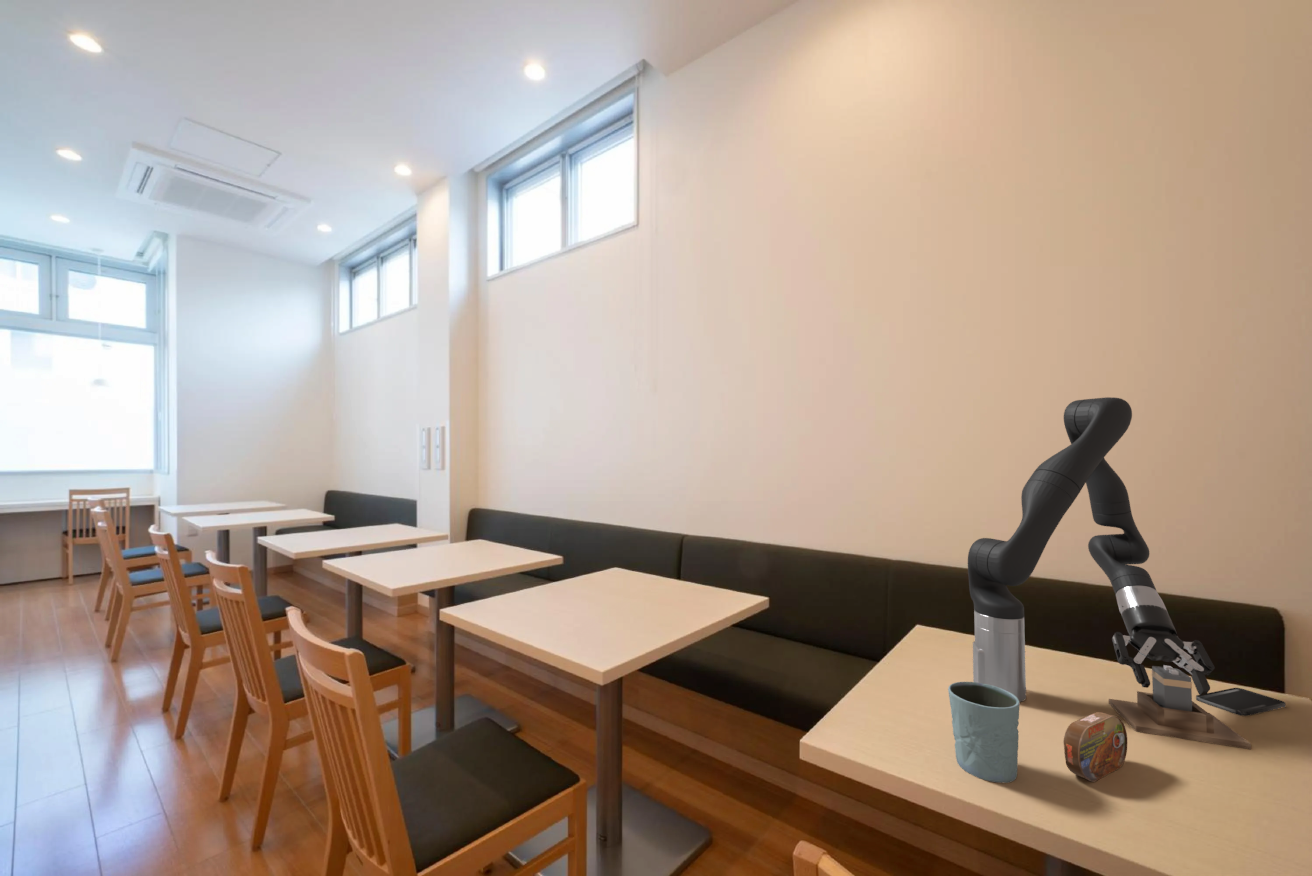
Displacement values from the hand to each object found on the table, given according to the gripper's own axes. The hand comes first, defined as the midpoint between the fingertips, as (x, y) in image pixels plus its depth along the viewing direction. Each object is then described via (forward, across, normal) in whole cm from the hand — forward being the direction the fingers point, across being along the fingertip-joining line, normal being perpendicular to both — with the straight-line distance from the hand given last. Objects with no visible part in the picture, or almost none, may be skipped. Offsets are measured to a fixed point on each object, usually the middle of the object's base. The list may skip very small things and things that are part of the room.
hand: (1175, 689), depth 100 cm
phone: (-7, +18, +18) cm, 26 cm away
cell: (+3, 0, +5) cm, 6 cm away
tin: (+21, -20, -11) cm, 31 cm away
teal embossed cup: (+26, -37, -16) cm, 48 cm away
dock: (+4, 0, +6) cm, 7 cm away
